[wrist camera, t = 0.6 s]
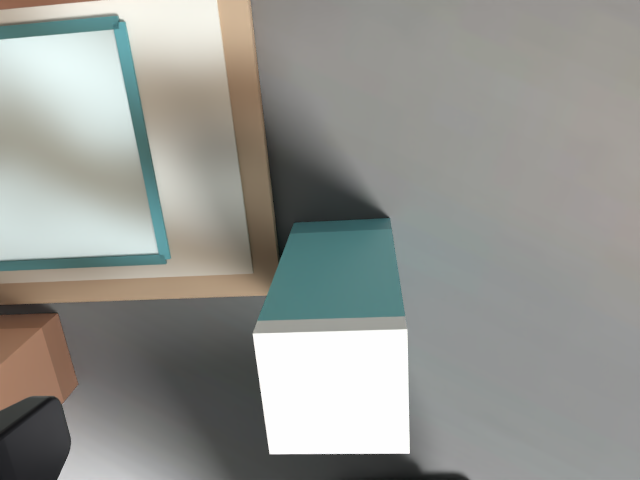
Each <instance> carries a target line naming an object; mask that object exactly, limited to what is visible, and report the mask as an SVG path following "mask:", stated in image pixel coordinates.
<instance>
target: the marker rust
mask: <svg viewBox="0 0 640 480" xmlns="http://www.w3.org/2000/svg"><path fill="white" fill-rule="evenodd" d="M77 385H78V382H77V378H76V375H75V371H74V368H73V364H72V361H71V357H70V354H69V350H68V347H67V343H66V340H65V336H64V333H63V329H62V326H61V322H60V319H59V315H58V313H45V314H15V315H0V411H1V410H3V409H5V408H7V407H9V406H11V405H13V404H15V403H17V402H19V401H21V400H23V399H25V398H28V397H31V396H55V397H57V398H58V399H59V400H60V401H61V404H63V402H64V401H65V400H66V399H67V398H68V396H69V395H70V394H71V393H72V391H73V390H74V389H75V388H76V387H77Z"/></svg>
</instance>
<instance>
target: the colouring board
mask: <svg viewBox="0 0 640 480" xmlns="http://www.w3.org/2000/svg"><path fill="white" fill-rule="evenodd" d="M279 262H280V258H279V249H278V240H277V231H276V223H275V214H274V205H273V196H272V187H271V178H270V170H269V161H268V152H267V143H266V134H265V125H264V117H263V108H262V99H261V90H260V81H259V72H258V63H257V55H256V46H255V37H254V28H253V19H252V10H251V2H250V0H0V305H10V304H38V303H67V302H95V301H124V300H152V299H181V298H209V297H237V296H266V295H267V294H268V291H269V288H270V286H271V283H272V280H273V278H274V275H275V272H276V270H277V267H278V264H279Z"/></svg>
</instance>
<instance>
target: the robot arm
mask: <svg viewBox="0 0 640 480" xmlns="http://www.w3.org/2000/svg"><path fill="white" fill-rule="evenodd" d="M70 446H71V438H70V434H69V430H68V426H67V422H66V419H65V415H64V411H63V407H62V404H61V401H60V400H59V399H58V398H57V397H55V396H31V397H28V398H25V399H23V400H21V401H19V402H17V403H15V404H13V405H11V406H9V407H7V408H5V409H3V410H1V411H0V480H57V479H58V477H59V474H60V472H61V470H62V468H63V466H64V463H65V461H66V459H67V457H68V454H69V451H70Z"/></svg>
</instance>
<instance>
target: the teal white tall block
mask: <svg viewBox="0 0 640 480" xmlns="http://www.w3.org/2000/svg"><path fill="white" fill-rule="evenodd" d="M253 340H254V347H255V354H256V361H257V368H258V375H259V382H260V390H261V397H262V404H263V411H264V418H265V425H266V432H267V439H268V446H269V453H270V454H410V439H409V391H408V342H407V325H406V318H405V312H404V305H403V299H402V293H401V286H400V280H399V273H398V267H397V260H396V254H395V248H394V241H393V235H392V228H391V222H390V218H381V219H360V220H340V221H319V222H299V223H294V224H293V227H292V230H291V232H290V235H289V238H288V240H287V243H286V246H285V248H284V251H283V254H282V256H281V259H280V262H279V264H278V267H277V270H276V272H275V275H274V278H273V280H272V283H271V286H270V288H269V291H268V294H267V296H266V299H265V302H264V305H263V307H262V310H261V313H260V315H259V318H258V321H257V323H256V326H255V329H254V331H253Z"/></svg>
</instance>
